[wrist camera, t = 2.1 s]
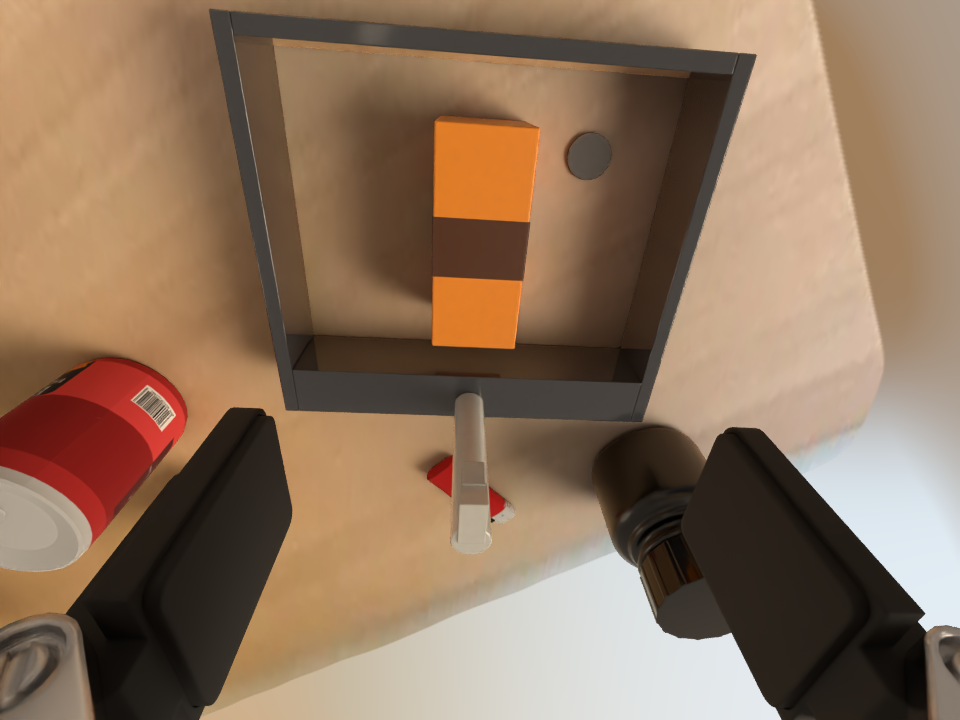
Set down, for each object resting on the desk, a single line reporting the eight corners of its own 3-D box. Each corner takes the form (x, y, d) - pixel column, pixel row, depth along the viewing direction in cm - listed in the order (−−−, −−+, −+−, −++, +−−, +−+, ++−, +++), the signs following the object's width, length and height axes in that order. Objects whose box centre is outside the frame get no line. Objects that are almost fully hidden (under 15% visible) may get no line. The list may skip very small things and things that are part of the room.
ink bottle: (605, 517, 40) (654, 663, 30) (569, 452, 36) (611, 595, 26) (713, 479, 38) (806, 621, 28) (688, 405, 34) (786, 540, 24)
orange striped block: (439, 115, 24) (433, 120, 19) (526, 121, 24) (541, 128, 19) (436, 306, 29) (431, 346, 25) (507, 309, 30) (515, 349, 25)
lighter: (452, 464, 35) (517, 515, 38) (452, 453, 36) (515, 504, 39) (426, 482, 36) (491, 531, 39) (427, 471, 37) (491, 519, 40)
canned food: (76, 335, 30) (-106, 449, 20) (202, 382, 32) (91, 504, 22) (67, 418, 33) (-93, 547, 24) (181, 455, 35) (77, 588, 26)
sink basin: (254, 23, 22) (-39, -75, 9) (708, 60, 23) (1004, 19, 10) (307, 372, 32) (203, 554, 19) (621, 384, 33) (718, 562, 20)
